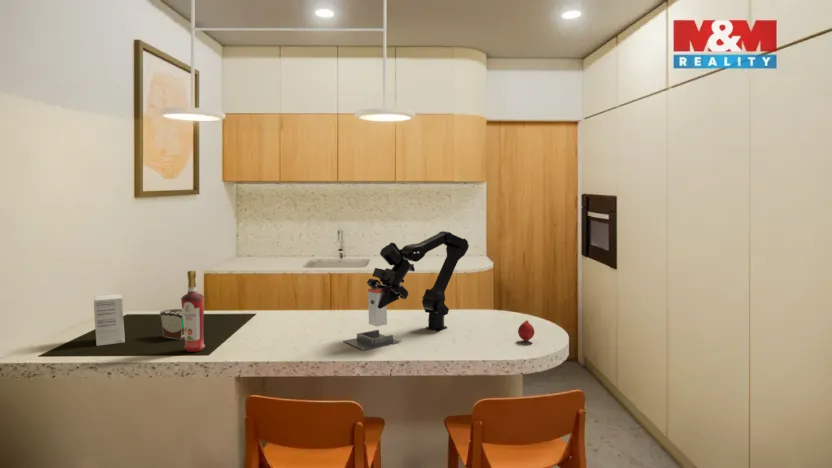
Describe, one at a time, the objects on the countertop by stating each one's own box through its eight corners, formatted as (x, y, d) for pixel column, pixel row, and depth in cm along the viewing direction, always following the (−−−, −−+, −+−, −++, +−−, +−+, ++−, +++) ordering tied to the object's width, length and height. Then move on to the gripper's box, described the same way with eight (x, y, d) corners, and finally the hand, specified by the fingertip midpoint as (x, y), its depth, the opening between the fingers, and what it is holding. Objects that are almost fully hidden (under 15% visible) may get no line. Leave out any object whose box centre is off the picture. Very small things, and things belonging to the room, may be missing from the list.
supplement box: (96, 339, 205) (93, 295, 204) (123, 336, 210) (121, 293, 208) (96, 346, 197) (93, 300, 195) (125, 342, 201) (122, 297, 200)
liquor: (179, 353, 188) (175, 272, 185) (189, 347, 195) (186, 269, 193) (200, 353, 187) (197, 272, 185) (209, 347, 195) (206, 269, 192)
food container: (196, 336, 210) (195, 310, 209) (184, 340, 204) (182, 313, 203) (173, 332, 215) (172, 307, 214) (160, 336, 209) (159, 310, 208)
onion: (524, 344, 196) (524, 322, 195) (514, 340, 201) (514, 319, 200) (537, 342, 199) (537, 320, 198) (527, 338, 204) (527, 317, 203)
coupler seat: (379, 334, 210) (379, 327, 210) (400, 342, 199) (400, 335, 199) (343, 341, 201) (342, 334, 200) (363, 350, 190) (363, 343, 189)
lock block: (378, 321, 202) (378, 287, 201) (386, 324, 199) (386, 289, 198) (368, 324, 199) (367, 289, 198) (376, 326, 196) (375, 291, 194)
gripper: (370, 257, 207) (346, 290, 200) (401, 262, 193) (377, 297, 186) (387, 275, 212) (364, 307, 206) (418, 281, 198) (395, 316, 192)
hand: (374, 306), depth 198 cm, fingers closed on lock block, 5 cm apart
